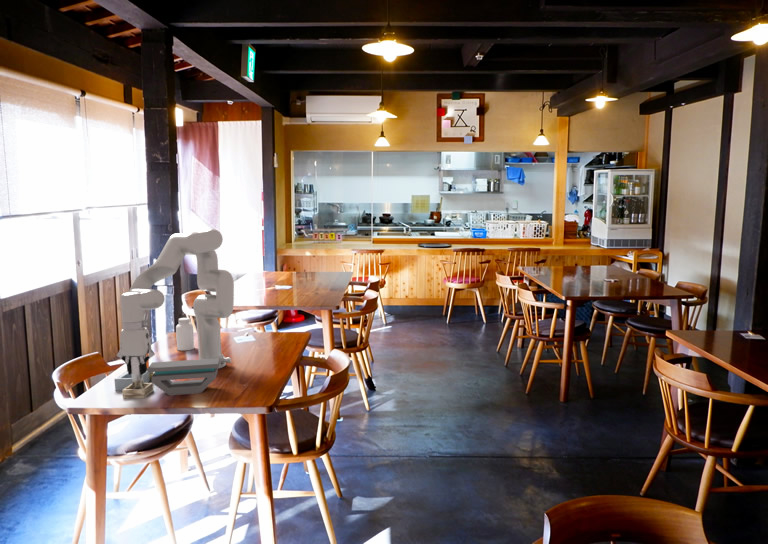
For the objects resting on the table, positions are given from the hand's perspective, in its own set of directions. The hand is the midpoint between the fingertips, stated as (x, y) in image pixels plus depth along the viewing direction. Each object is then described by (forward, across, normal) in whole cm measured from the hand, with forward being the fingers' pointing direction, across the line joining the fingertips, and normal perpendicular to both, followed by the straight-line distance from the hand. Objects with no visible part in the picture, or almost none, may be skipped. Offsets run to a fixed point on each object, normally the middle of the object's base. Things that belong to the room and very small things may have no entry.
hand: (137, 372), depth 220 cm
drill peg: (+6, 0, 0) cm, 6 cm away
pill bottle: (+9, +6, -65) cm, 66 cm away
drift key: (+8, +3, -16) cm, 19 cm away
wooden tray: (+8, 0, 0) cm, 8 cm away
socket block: (+8, +7, -11) cm, 15 cm away
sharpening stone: (+8, -17, -3) cm, 19 cm away
